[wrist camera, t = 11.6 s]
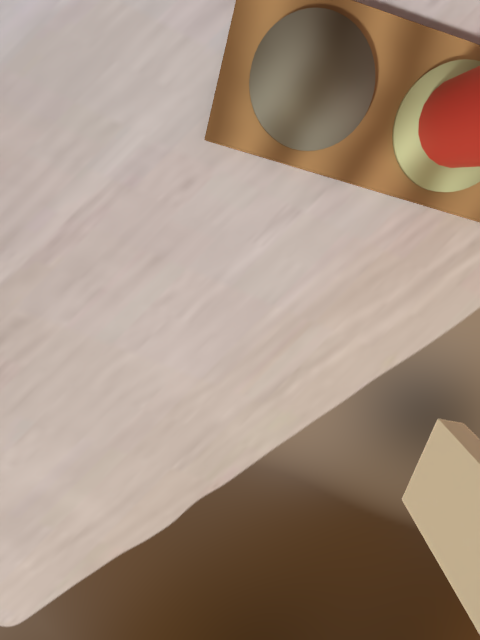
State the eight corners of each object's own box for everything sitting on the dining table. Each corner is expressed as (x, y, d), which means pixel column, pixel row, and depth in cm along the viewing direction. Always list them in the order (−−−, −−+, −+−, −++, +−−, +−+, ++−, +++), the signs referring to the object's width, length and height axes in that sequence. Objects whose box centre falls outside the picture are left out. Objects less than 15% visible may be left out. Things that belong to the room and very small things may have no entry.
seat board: (205, 140, 34) (204, 138, 33) (244, -31, 30) (245, -42, 29) (489, 225, 37) (500, 226, 35) (555, 77, 33) (571, 73, 32)
